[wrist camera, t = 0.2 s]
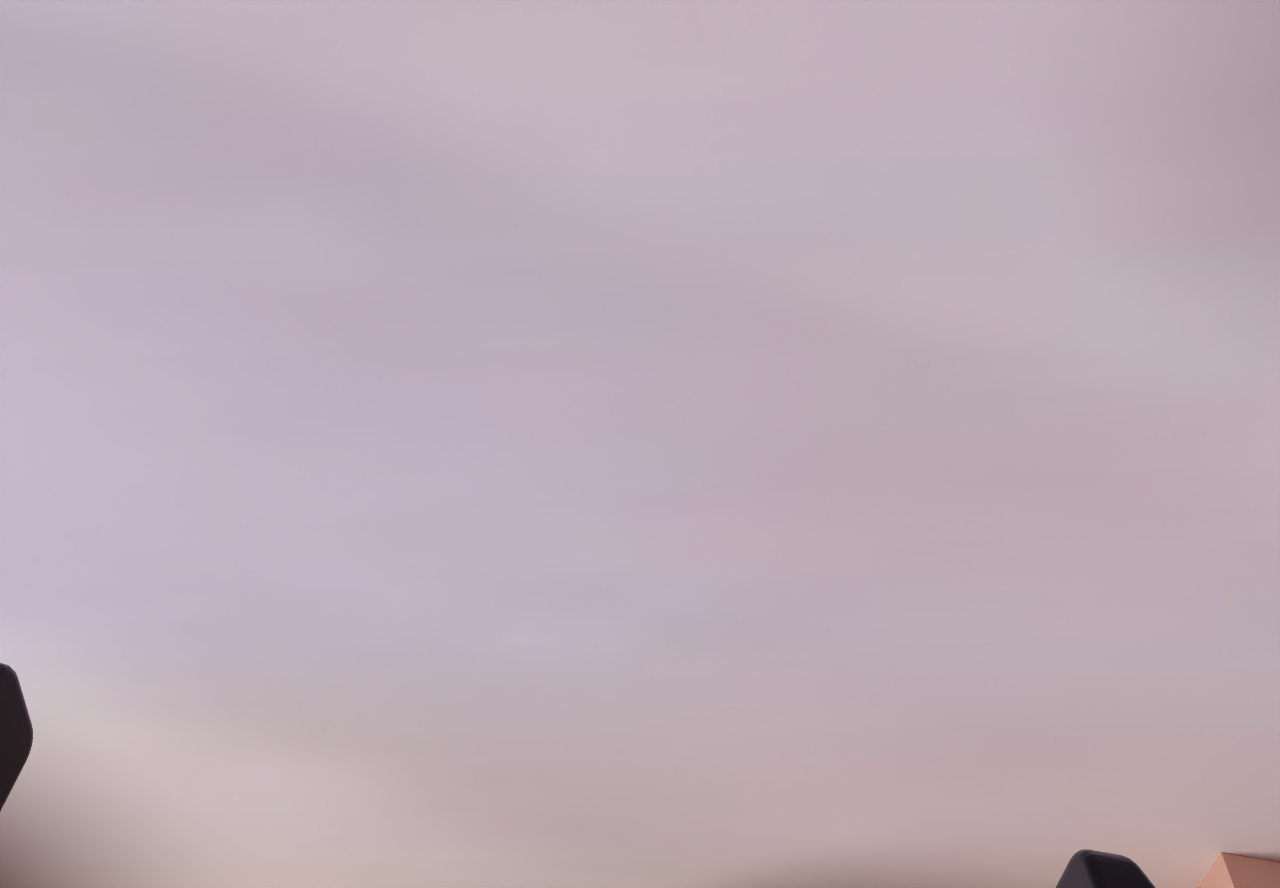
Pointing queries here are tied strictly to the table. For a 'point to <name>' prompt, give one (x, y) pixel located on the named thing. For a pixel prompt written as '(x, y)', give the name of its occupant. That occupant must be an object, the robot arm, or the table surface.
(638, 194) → the table surface
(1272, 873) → the cube
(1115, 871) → the robot arm
